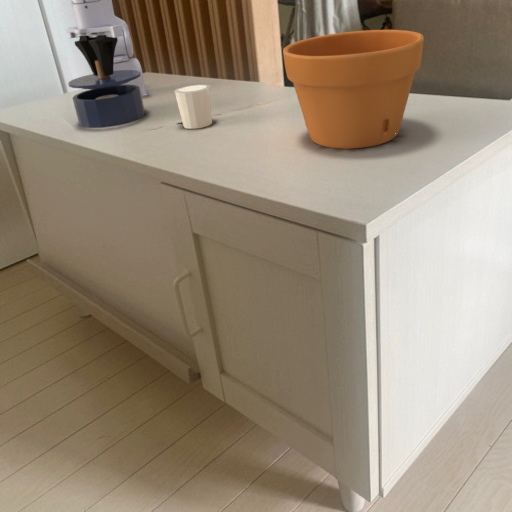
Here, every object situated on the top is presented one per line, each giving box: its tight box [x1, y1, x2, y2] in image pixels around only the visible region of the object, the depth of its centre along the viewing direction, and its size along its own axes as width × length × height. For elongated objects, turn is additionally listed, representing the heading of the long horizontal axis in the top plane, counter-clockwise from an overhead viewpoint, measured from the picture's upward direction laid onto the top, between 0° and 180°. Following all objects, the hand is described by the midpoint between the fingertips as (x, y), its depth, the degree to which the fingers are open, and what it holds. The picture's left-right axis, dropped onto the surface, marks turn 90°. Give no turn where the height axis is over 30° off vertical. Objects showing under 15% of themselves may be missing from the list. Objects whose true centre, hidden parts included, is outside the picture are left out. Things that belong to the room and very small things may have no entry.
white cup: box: [174, 84, 213, 130], centre depth 104 cm, size 7×7×7 cm
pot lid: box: [67, 60, 141, 90], centre depth 110 cm, size 15×15×5 cm
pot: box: [72, 85, 145, 129], centre depth 113 cm, size 14×14×6 cm
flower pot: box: [282, 29, 425, 150], centre depth 86 cm, size 21×21×15 cm
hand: (103, 75), depth 111 cm, fingers closed on pot lid, 2 cm apart
